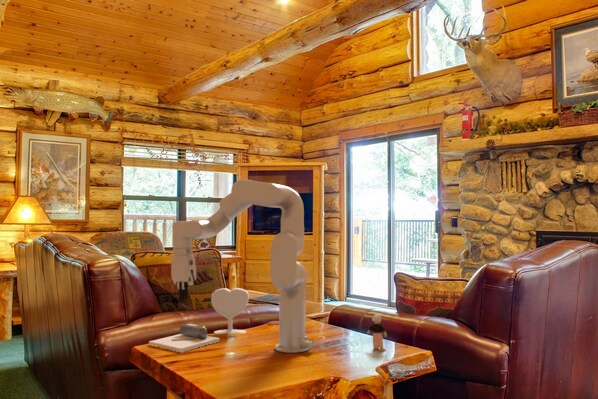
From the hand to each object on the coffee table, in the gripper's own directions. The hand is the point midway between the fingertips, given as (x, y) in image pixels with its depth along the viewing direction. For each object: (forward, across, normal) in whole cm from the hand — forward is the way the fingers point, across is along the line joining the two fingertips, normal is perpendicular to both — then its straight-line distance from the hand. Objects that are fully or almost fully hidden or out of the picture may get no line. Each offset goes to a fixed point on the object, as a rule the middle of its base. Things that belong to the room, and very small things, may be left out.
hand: (183, 299), depth 192 cm
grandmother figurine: (+18, -68, -30) cm, 77 cm away
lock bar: (+14, -4, -1) cm, 15 cm away
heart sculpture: (+16, -4, -21) cm, 27 cm away
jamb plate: (+16, -4, +3) cm, 17 cm away
